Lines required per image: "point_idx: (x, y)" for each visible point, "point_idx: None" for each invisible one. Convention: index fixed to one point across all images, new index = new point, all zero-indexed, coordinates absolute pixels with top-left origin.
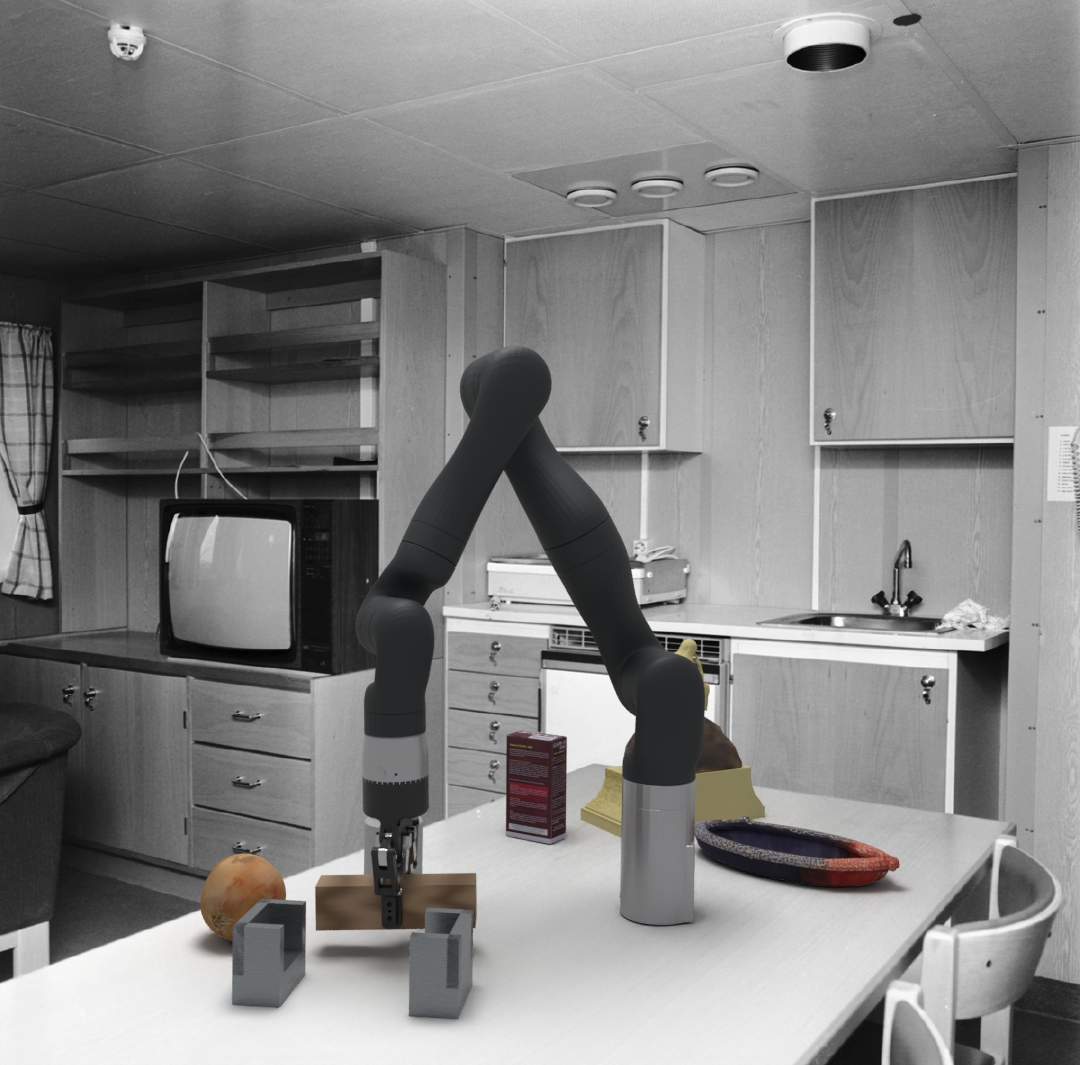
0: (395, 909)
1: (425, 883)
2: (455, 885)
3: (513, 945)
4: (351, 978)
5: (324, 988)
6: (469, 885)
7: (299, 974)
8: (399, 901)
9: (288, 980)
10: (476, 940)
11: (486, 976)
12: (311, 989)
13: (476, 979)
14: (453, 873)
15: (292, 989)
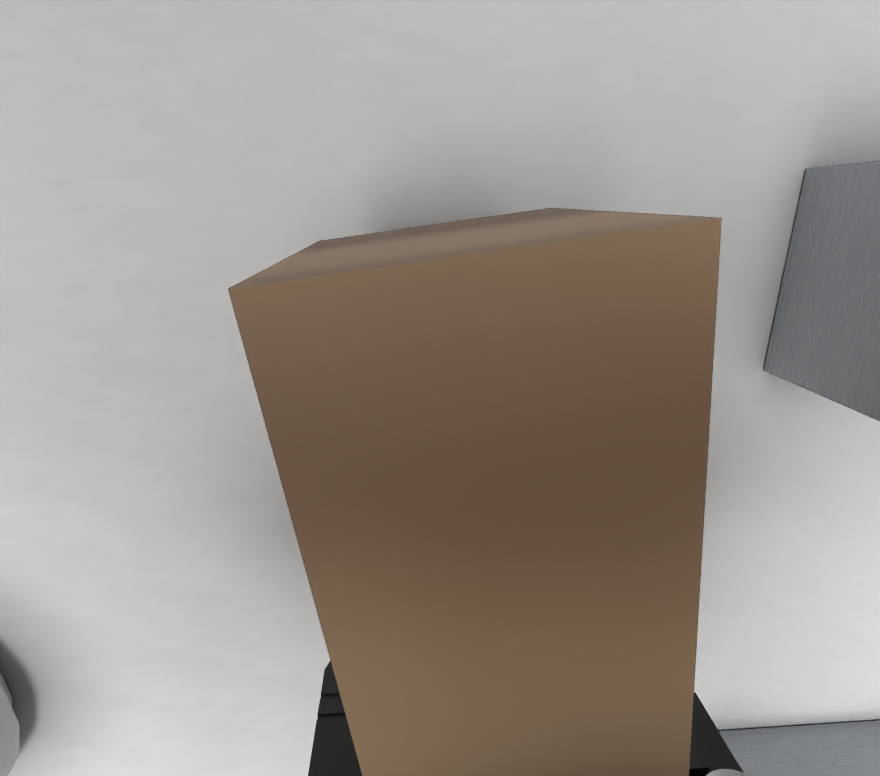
0: (703, 710)
1: (645, 719)
2: (701, 455)
3: (297, 16)
4: (719, 612)
5: (791, 658)
6: (712, 293)
7: (755, 751)
8: (691, 738)
9: (876, 768)
10: (277, 244)
11: (715, 113)
12: (796, 686)
13: (747, 159)
14: (309, 561)
15: (806, 728)
